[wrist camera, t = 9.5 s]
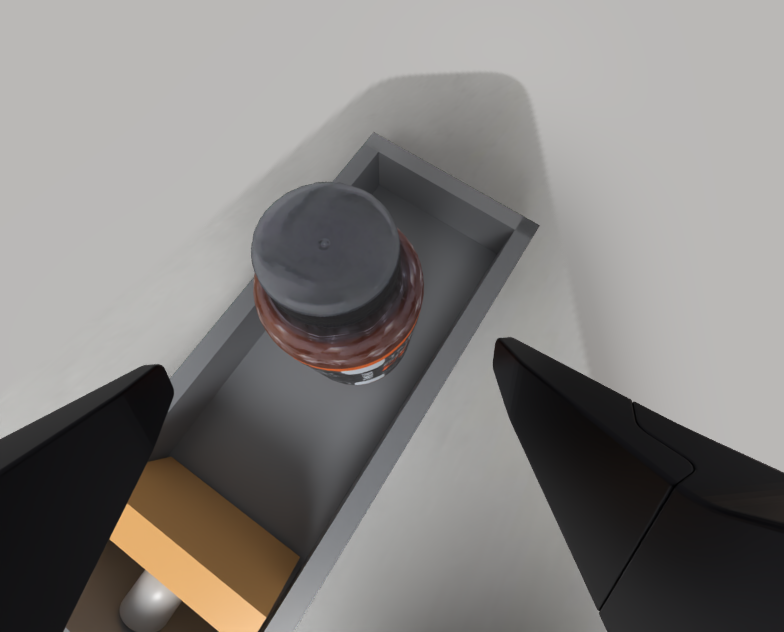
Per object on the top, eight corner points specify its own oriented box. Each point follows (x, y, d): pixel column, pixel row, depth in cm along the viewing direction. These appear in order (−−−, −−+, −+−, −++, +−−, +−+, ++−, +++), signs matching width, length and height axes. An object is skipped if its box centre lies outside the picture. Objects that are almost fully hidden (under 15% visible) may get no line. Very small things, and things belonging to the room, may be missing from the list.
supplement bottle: (401, 393, 19) (421, 377, 8) (297, 378, 19) (177, 340, 8) (415, 294, 20) (448, 165, 10) (318, 280, 21) (241, 137, 10)
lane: (262, 666, 16) (198, 803, 11) (97, 526, 18) (-37, 582, 12) (513, 255, 22) (557, 204, 17) (375, 174, 24) (372, 102, 18)
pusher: (248, 638, 16) (189, 739, 11) (116, 527, 17) (9, 575, 12) (300, 557, 16) (266, 617, 12) (171, 456, 18) (92, 475, 13)
